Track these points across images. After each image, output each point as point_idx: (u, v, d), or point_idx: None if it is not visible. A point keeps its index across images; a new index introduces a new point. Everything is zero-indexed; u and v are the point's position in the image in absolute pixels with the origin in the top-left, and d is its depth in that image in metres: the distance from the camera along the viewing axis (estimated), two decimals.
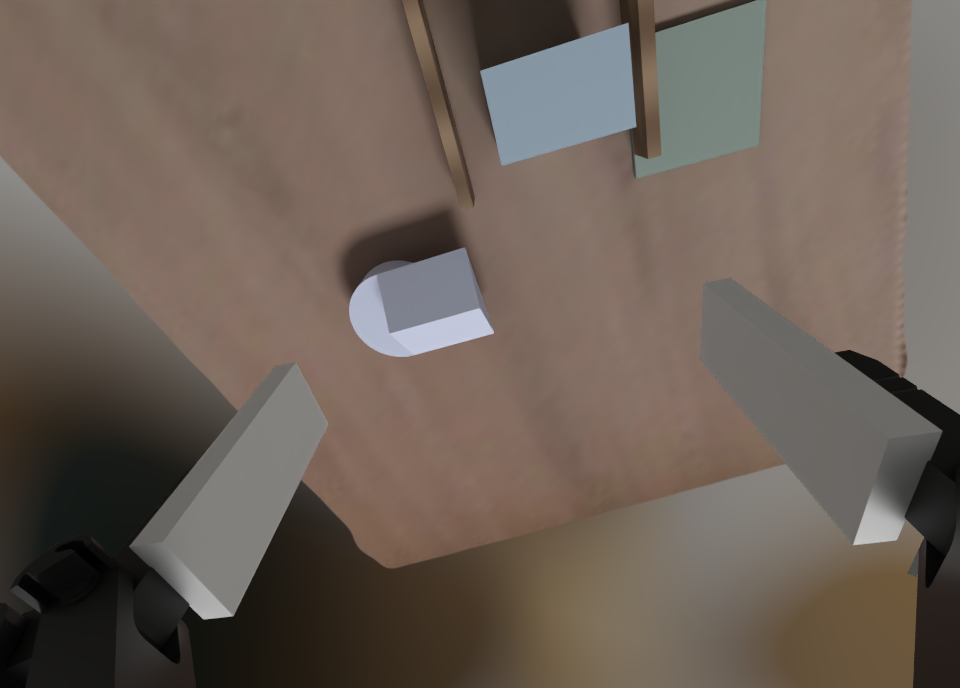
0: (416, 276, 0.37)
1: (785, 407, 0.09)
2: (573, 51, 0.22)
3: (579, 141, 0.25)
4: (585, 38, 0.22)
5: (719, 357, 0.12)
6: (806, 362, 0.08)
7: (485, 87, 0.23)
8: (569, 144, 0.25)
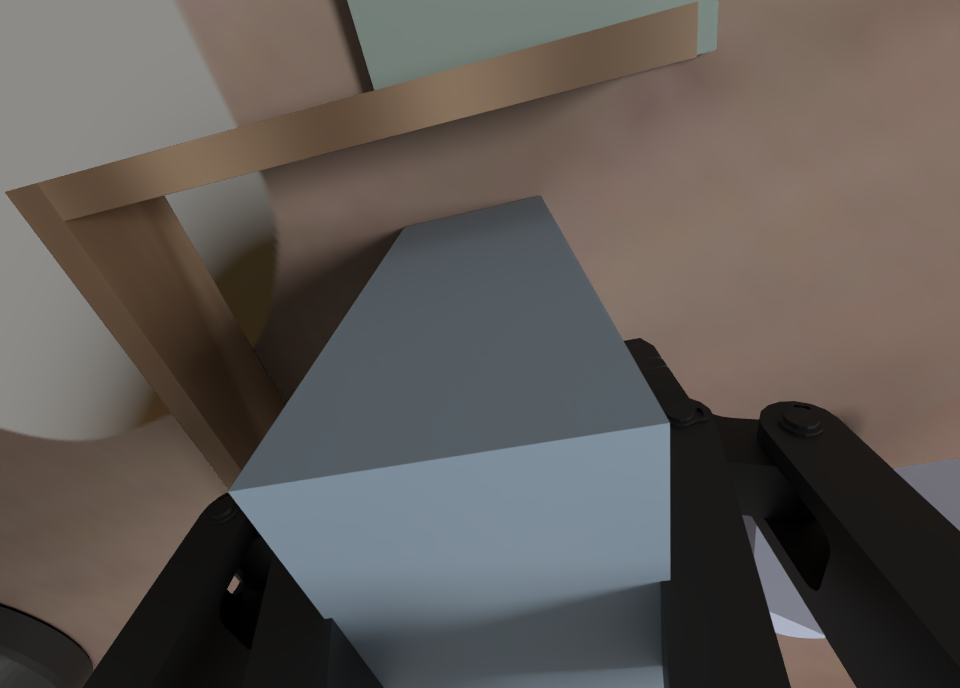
0: None
1: None
2: (358, 620, 0.06)
3: None
4: (314, 596, 0.06)
5: None
6: None
7: None
8: None
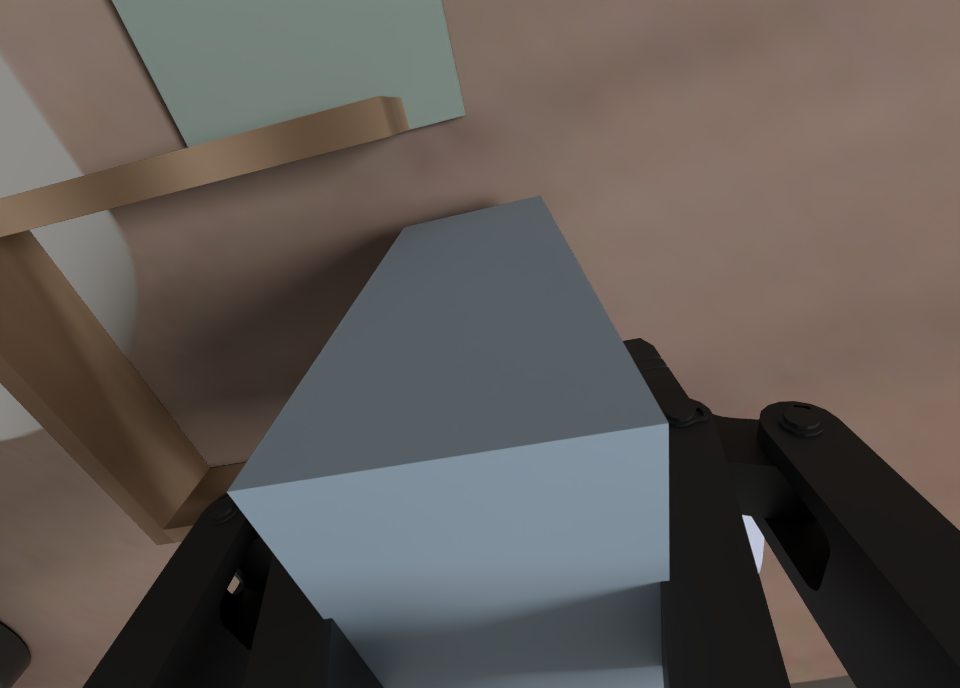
0: None
1: None
2: (357, 620, 0.06)
3: None
4: (313, 597, 0.06)
5: None
6: None
7: None
8: None
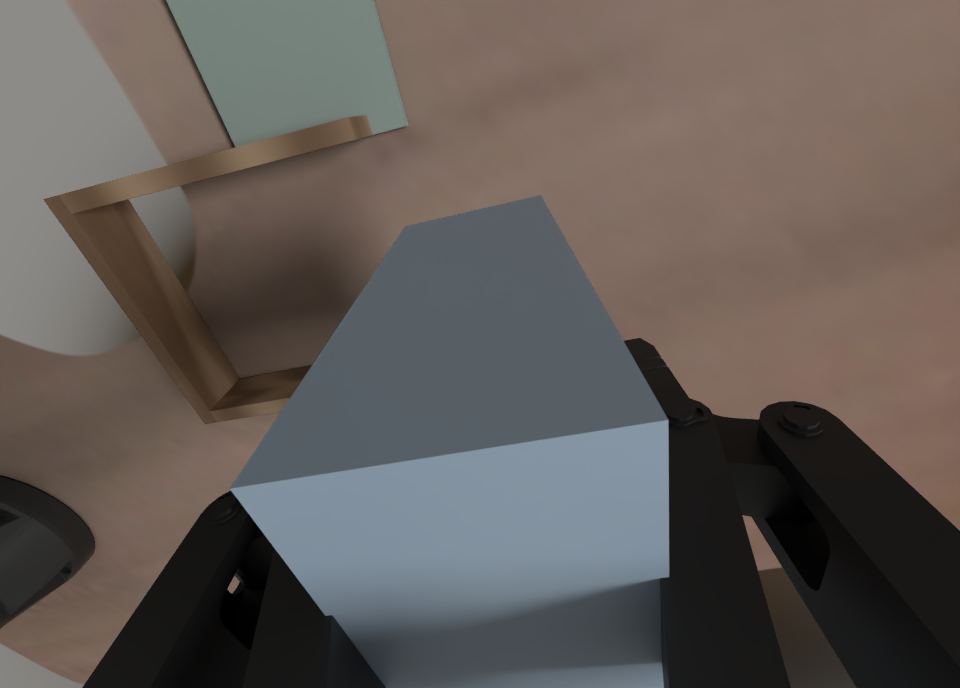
0: None
1: None
2: (359, 617, 0.06)
3: None
4: (314, 593, 0.06)
5: None
6: None
7: None
8: None
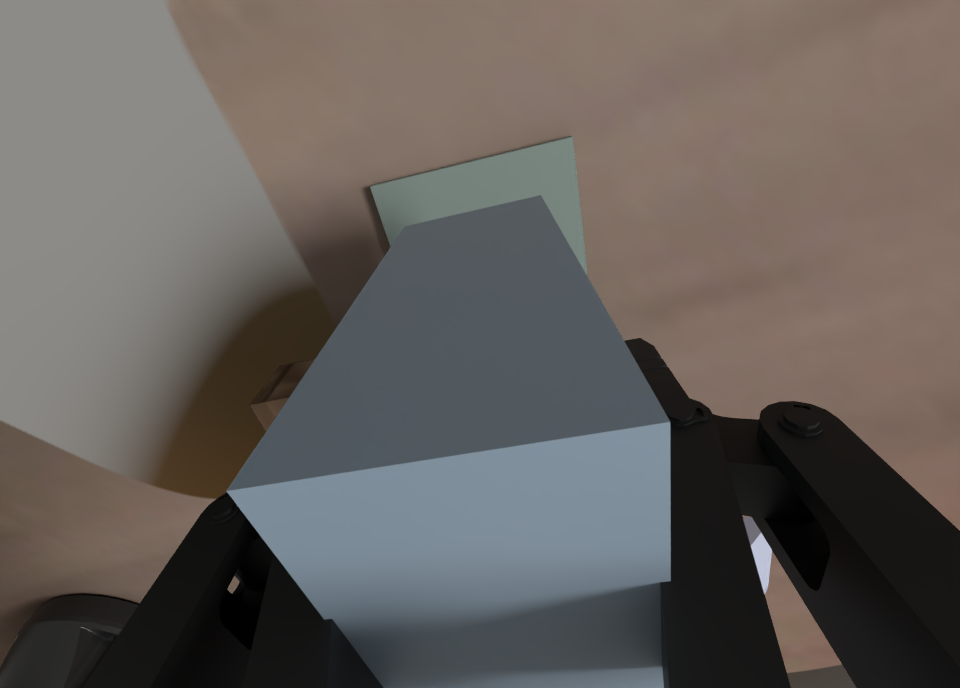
0: None
1: None
2: (357, 619, 0.06)
3: None
4: (313, 596, 0.06)
5: None
6: None
7: None
8: None
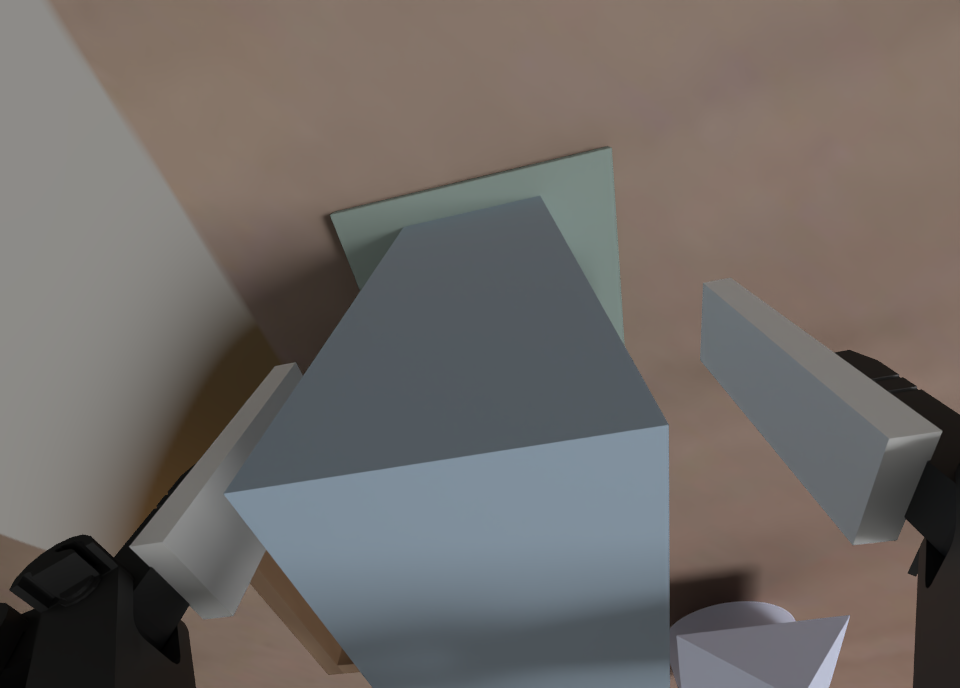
0: (702, 687, 0.25)
1: (785, 407, 0.09)
2: (355, 622, 0.06)
3: (661, 602, 0.06)
4: (310, 599, 0.06)
5: (719, 357, 0.12)
6: (806, 362, 0.08)
7: None
8: (663, 626, 0.06)
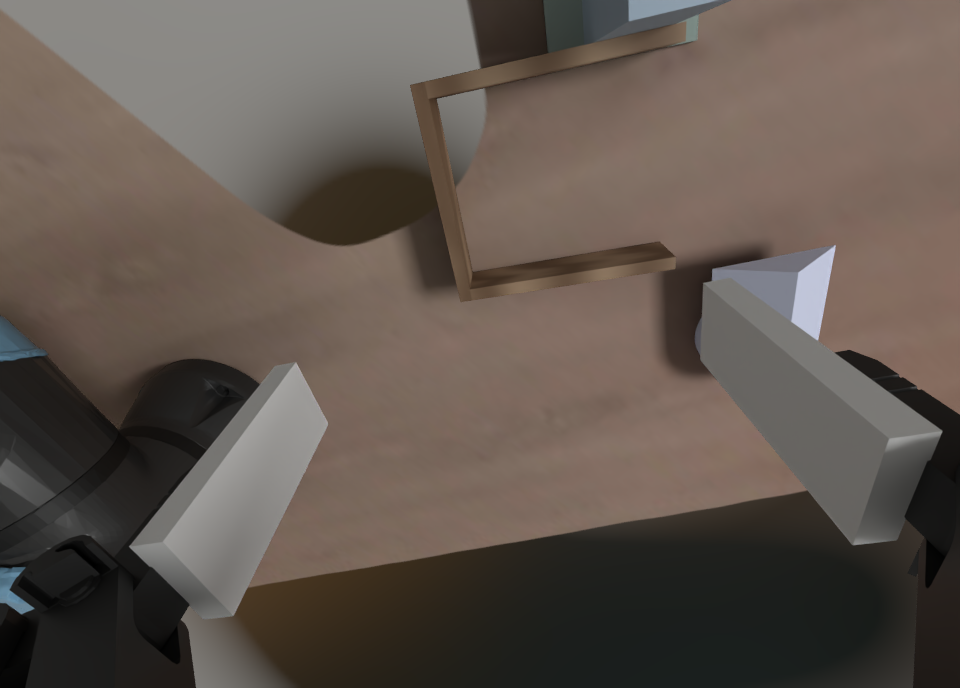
0: None
1: (785, 407, 0.09)
2: None
3: None
4: None
5: (719, 357, 0.12)
6: (806, 362, 0.08)
7: (648, 14, 0.19)
8: None
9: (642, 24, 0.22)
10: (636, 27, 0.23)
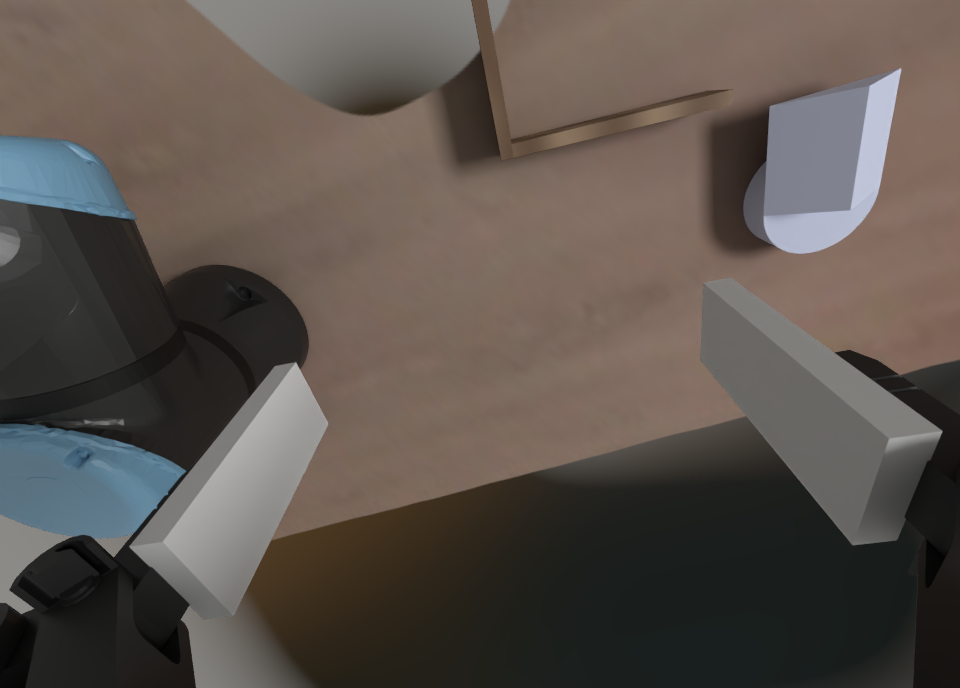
0: (785, 170, 0.33)
1: (785, 407, 0.09)
2: None
3: None
4: None
5: (719, 357, 0.12)
6: (806, 362, 0.08)
7: None
8: None
9: None
10: None
